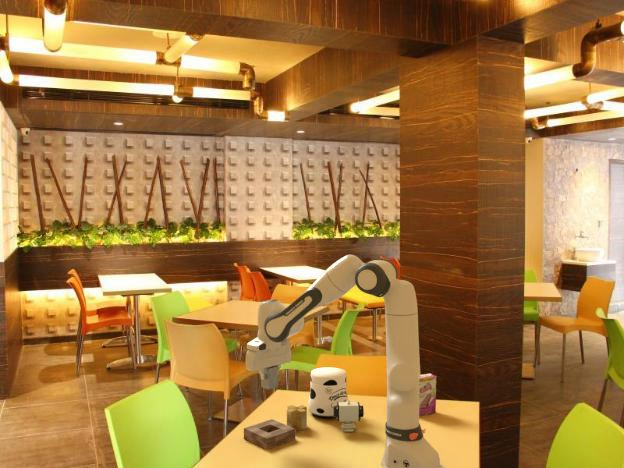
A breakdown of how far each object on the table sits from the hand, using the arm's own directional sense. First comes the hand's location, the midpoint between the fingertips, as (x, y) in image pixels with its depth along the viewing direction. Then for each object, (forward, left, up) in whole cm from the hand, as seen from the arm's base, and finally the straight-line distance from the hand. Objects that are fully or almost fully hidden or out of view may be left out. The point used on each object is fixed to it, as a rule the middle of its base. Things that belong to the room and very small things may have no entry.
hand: (269, 377), depth 229 cm
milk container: (+4, -36, -24) cm, 43 cm away
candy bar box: (-24, -65, -24) cm, 73 cm away
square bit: (0, 0, -4) cm, 4 cm away
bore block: (0, 0, -24) cm, 24 cm away
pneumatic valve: (-15, -28, -24) cm, 40 cm away
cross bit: (+1, -15, -24) cm, 28 cm away
